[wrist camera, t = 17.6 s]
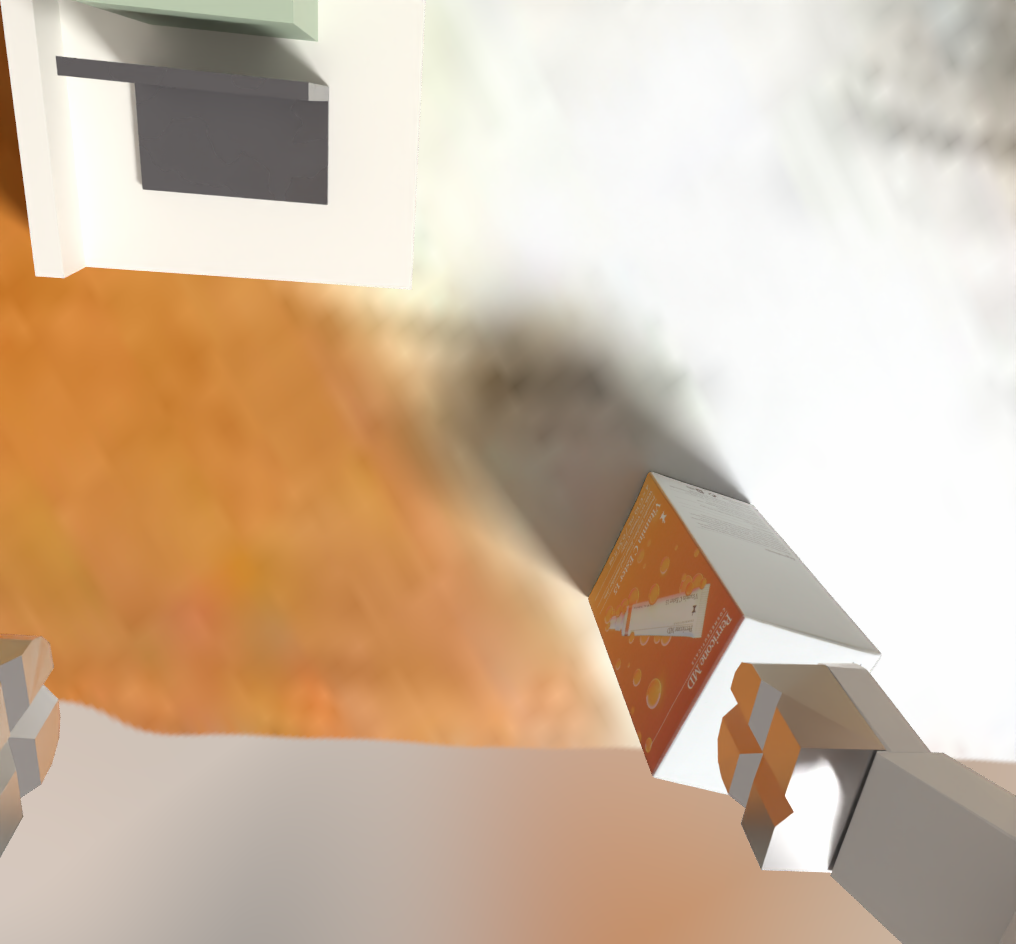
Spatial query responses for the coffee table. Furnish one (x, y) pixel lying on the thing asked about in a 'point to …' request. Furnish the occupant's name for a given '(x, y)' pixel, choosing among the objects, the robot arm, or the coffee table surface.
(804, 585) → the small box
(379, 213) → the slotted holder
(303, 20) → the sage green cuboid
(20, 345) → the coffee table surface
